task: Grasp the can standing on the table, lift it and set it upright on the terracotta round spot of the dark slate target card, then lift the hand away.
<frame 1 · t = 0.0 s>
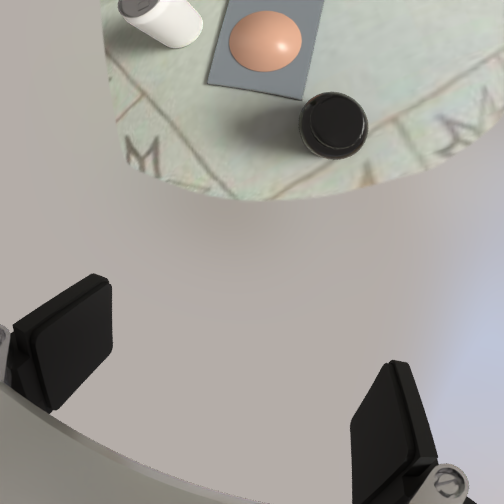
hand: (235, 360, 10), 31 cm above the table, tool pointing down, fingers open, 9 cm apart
supplement bottle: (328, 131, 36), on the table
can: (182, 29, 34), on the table
target card: (270, 23, 32), on the table
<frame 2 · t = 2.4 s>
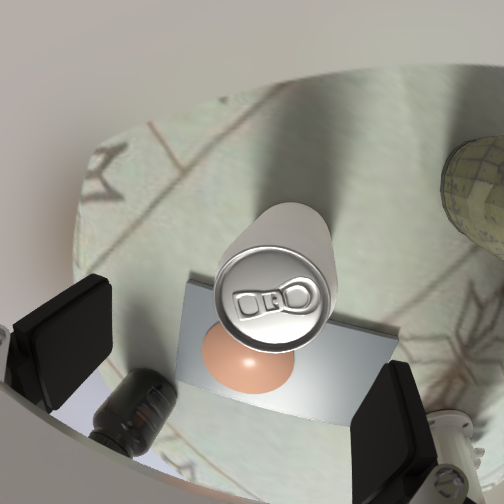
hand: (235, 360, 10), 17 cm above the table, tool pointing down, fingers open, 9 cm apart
thermos: (479, 189, 21), on the table
supplement bottle: (153, 387, 34), on the table
can: (291, 239, 26), on the table
target card: (278, 362, 29), on the table
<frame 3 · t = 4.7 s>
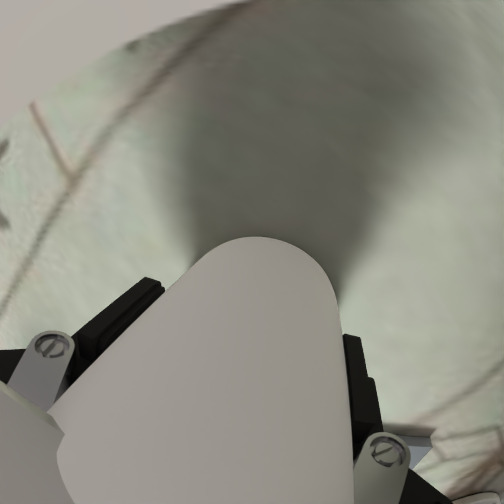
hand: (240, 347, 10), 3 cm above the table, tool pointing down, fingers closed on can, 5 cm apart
can: (261, 306, 13), on the table, touching gripper
target card: (247, 466, 17), on the table
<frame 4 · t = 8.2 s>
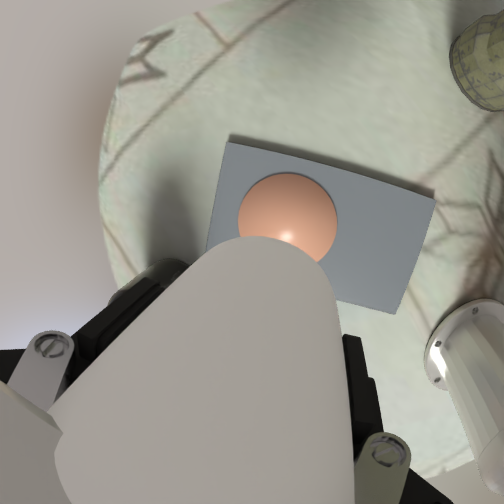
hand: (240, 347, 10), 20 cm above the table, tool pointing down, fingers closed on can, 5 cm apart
thermos: (482, 72, 21), on the table
supplement bottle: (175, 286, 34), on the table
can: (259, 305, 13), point 17 cm above the table, touching gripper
target card: (319, 230, 29), on the table
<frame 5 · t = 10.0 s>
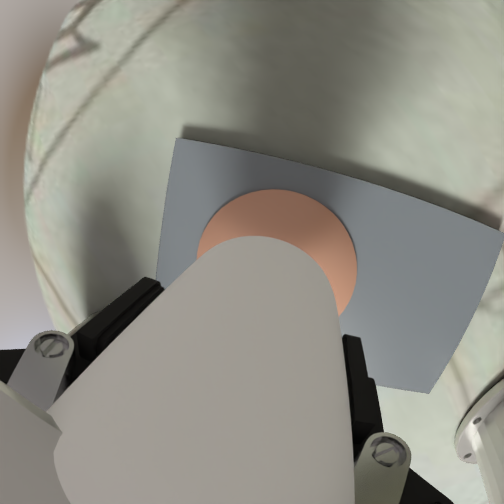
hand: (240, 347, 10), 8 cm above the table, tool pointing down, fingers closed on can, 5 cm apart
can: (259, 305, 13), point 5 cm above the table, touching gripper
target card: (326, 280, 18), on the table
when the fingers open (5 cm above the table, at t = 11.7 s): can stays where it is, resting on target card.
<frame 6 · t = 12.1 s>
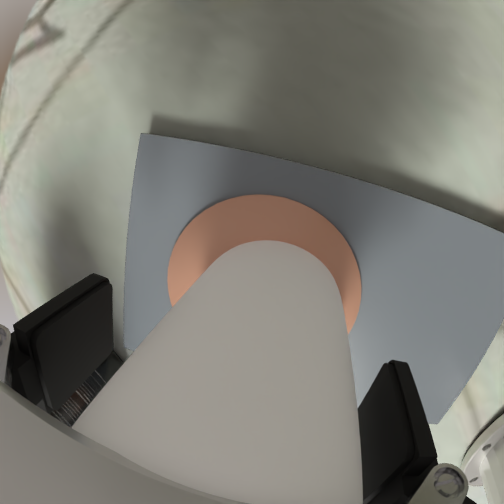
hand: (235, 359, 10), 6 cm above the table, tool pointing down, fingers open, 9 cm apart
supplement bottle: (97, 366, 20), on the table
can: (270, 304, 14), point 1 cm above the table, touching target card
target card: (324, 303, 15), on the table
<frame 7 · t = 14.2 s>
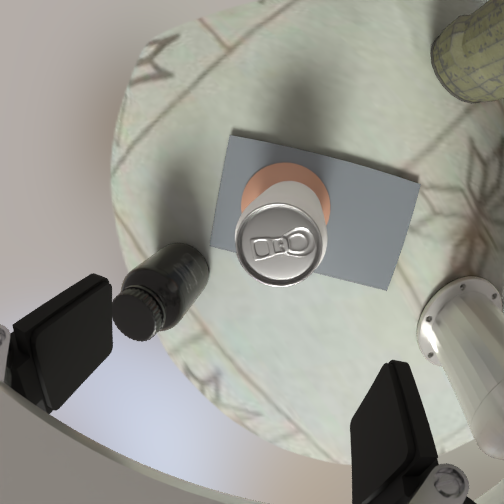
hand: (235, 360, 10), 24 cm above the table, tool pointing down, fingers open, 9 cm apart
thermos: (462, 67, 24), on the table
supplement bottle: (183, 268, 37), on the table
can: (290, 211, 32), point 1 cm above the table, touching target card
target card: (314, 213, 32), on the table
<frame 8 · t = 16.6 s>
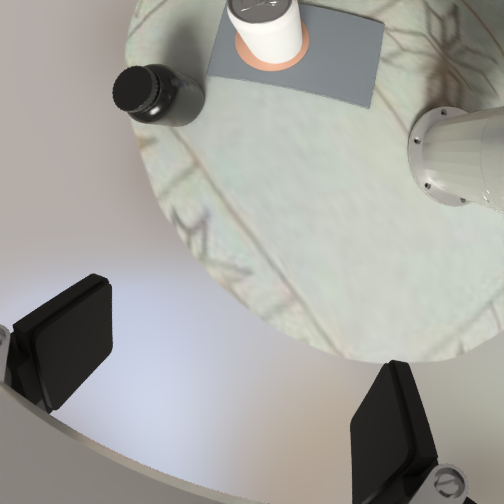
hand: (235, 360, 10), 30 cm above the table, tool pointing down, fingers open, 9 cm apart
supplement bottle: (181, 102, 37), on the table
can: (275, 42, 31), point 1 cm above the table, touching target card
target card: (296, 45, 32), on the table
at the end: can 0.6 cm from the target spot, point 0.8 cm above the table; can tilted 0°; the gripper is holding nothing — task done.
